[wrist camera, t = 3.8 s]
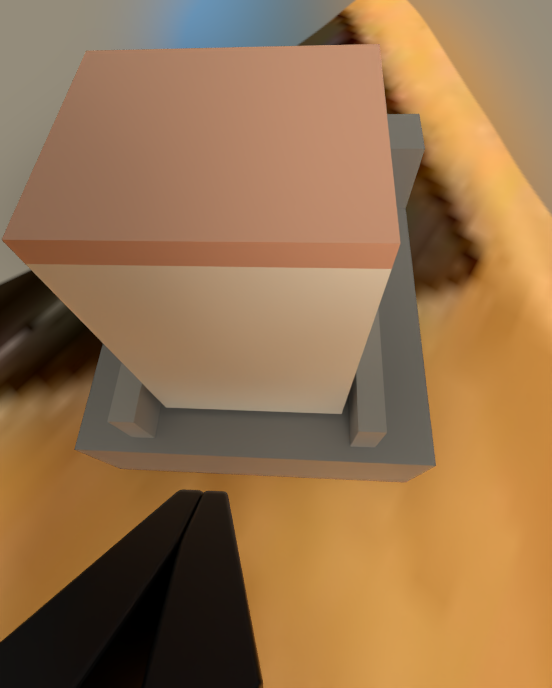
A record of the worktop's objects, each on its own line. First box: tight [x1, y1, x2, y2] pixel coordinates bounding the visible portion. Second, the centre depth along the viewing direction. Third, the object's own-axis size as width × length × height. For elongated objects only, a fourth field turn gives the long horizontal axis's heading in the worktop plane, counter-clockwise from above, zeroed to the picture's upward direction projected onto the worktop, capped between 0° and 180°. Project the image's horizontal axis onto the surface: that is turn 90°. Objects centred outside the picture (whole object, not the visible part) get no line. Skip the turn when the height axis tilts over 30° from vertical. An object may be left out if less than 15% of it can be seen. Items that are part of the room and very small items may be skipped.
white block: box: [2, 44, 401, 414], centre depth 11 cm, size 5×6×9 cm
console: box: [74, 114, 436, 482], centre depth 17 cm, size 14×12×7 cm
